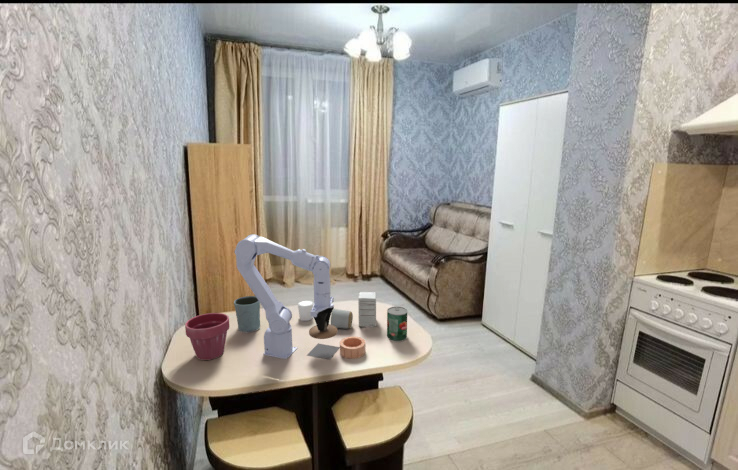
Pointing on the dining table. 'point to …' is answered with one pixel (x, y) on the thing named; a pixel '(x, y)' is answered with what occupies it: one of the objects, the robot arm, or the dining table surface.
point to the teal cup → (247, 313)
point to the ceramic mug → (341, 318)
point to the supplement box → (367, 309)
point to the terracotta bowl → (352, 347)
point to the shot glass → (305, 310)
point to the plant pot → (208, 334)
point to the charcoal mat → (323, 351)
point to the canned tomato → (397, 324)
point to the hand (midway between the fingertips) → (323, 328)
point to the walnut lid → (323, 332)
